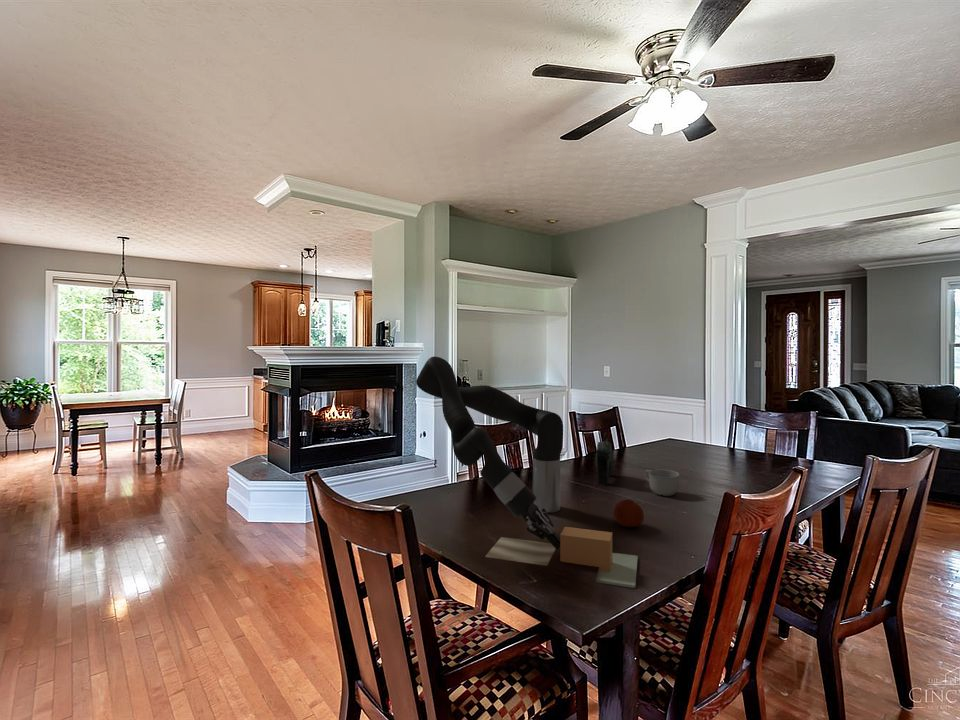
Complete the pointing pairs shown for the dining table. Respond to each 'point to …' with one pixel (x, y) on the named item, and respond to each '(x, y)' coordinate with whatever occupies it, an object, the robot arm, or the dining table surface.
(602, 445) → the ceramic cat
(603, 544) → the block
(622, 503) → the fruit
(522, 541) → the board
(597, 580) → the mat
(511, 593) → the dining table surface
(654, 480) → the teacup
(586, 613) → the dining table surface
